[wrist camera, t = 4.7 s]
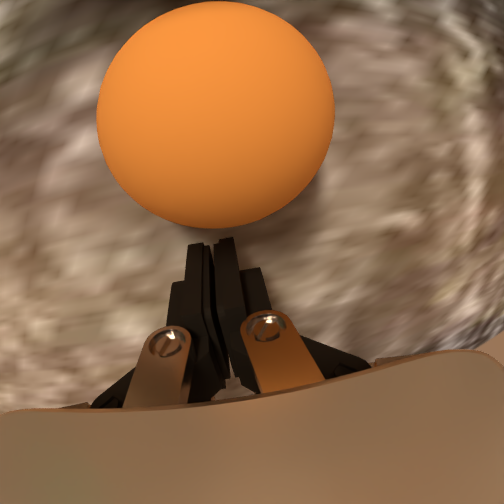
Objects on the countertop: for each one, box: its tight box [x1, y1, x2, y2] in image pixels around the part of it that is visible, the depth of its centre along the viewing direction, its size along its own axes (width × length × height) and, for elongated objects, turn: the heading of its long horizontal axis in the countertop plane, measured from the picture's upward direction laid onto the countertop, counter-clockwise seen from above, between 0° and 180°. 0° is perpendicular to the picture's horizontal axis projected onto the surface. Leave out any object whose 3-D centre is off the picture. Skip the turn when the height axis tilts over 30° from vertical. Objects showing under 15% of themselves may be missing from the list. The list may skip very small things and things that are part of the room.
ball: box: [97, 1, 335, 229], centre depth 7 cm, size 6×6×6 cm
